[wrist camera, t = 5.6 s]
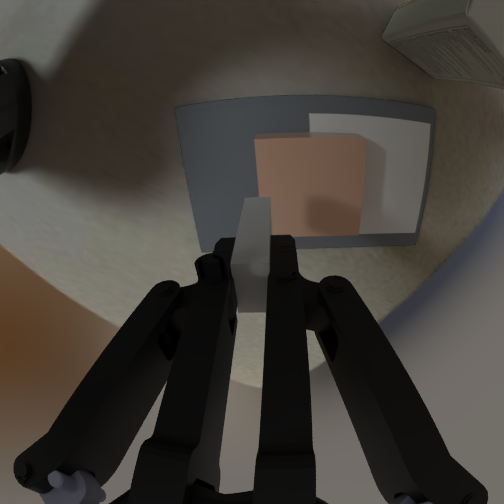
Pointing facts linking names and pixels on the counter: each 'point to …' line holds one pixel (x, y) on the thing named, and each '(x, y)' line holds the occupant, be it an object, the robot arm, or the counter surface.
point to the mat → (308, 120)
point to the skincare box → (452, 38)
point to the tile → (312, 181)
